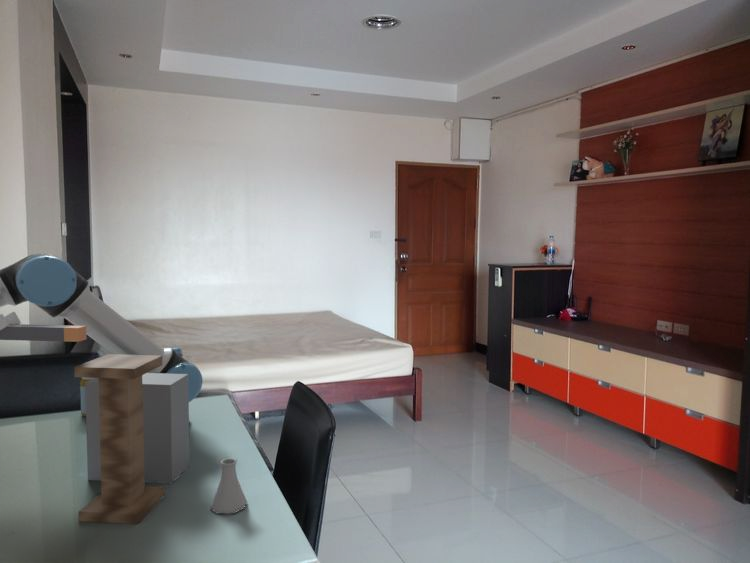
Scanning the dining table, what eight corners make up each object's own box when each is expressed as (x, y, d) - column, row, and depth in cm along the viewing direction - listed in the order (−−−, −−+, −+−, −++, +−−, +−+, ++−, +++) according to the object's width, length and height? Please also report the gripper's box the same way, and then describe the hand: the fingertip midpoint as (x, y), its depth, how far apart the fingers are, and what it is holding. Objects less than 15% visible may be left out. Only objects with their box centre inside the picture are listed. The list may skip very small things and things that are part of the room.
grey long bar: (-33, 339, 114) (-34, 325, 114) (-22, 336, 117) (-23, 323, 117) (78, 341, 113) (78, 328, 112) (86, 339, 115) (86, 325, 115)
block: (87, 480, 129) (85, 382, 127) (111, 462, 138) (108, 371, 137) (172, 483, 127) (170, 384, 125) (189, 465, 137) (188, 374, 135)
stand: (78, 521, 110) (74, 367, 108) (111, 493, 122) (108, 354, 120) (137, 523, 109) (134, 368, 107) (164, 495, 121) (162, 355, 119)
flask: (253, 502, 119) (253, 457, 118) (233, 518, 112) (233, 470, 111) (224, 496, 121) (224, 452, 120) (203, 512, 114) (203, 465, 114)
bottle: (95, 418, 171) (94, 370, 170) (76, 416, 173) (74, 369, 172) (110, 411, 178) (109, 365, 177) (91, 410, 180) (90, 364, 178)
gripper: (-40, 378, 125) (45, 328, 123) (-106, 398, 109) (-9, 341, 107) (-58, 349, 125) (27, 298, 122) (-126, 365, 109) (-29, 307, 107)
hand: (10, 318), depth 115 cm, fingers closed on grey long bar, 3 cm apart
